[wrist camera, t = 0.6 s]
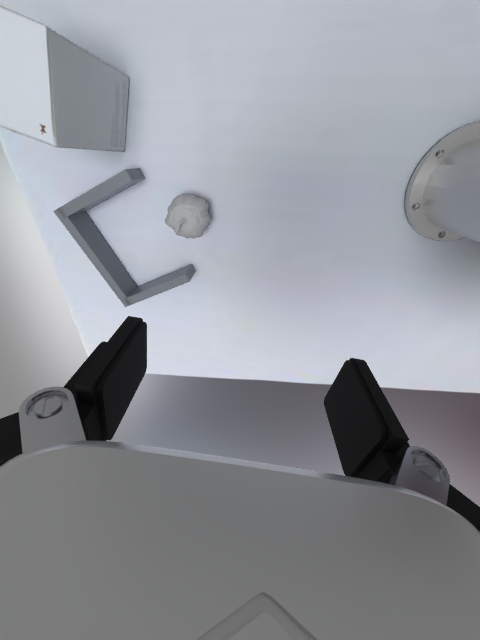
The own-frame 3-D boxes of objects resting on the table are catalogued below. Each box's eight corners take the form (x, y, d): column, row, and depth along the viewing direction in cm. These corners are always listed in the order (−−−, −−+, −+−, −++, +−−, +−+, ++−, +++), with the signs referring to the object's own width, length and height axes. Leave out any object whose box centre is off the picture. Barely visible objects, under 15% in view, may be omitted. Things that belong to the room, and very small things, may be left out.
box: (139, 168, 32) (125, 169, 29) (195, 270, 39) (189, 281, 36) (73, 206, 35) (53, 211, 32) (136, 295, 42) (125, 306, 39)
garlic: (184, 240, 37) (173, 252, 32) (163, 203, 34) (149, 210, 30) (220, 223, 35) (215, 233, 31) (202, 183, 33) (193, 187, 28)
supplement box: (131, 76, 27) (49, 24, 17) (125, 153, 31) (56, 151, 21) (61, 46, 27) (-72, -28, 16) (64, 129, 31) (-41, 114, 20)
